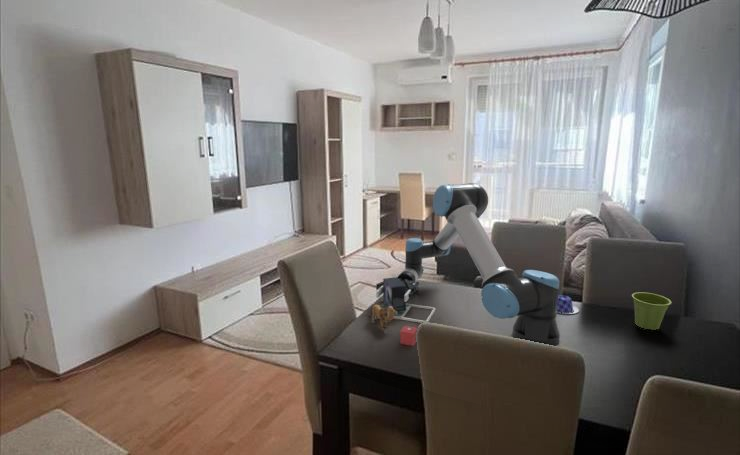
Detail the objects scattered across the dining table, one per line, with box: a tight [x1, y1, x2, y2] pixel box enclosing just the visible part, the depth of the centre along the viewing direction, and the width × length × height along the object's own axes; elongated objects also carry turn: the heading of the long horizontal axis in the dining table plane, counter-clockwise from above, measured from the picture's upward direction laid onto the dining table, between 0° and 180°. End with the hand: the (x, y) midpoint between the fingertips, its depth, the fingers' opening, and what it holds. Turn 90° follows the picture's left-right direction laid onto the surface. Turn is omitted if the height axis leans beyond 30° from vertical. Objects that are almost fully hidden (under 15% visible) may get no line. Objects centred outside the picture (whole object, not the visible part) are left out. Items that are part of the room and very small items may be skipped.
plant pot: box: [631, 291, 672, 330], centre depth 148 cm, size 12×12×11 cm
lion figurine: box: [368, 304, 397, 331], centre depth 150 cm, size 15×5×9 cm, turn 37°
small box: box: [382, 276, 407, 311], centre depth 162 cm, size 11×6×10 cm, turn 17°
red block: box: [400, 325, 418, 347], centre depth 138 cm, size 4×4×5 cm
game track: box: [380, 302, 436, 324], centre depth 162 cm, size 21×14×1 cm
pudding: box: [556, 294, 580, 315], centre depth 165 cm, size 12×12×5 cm
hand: (391, 296), depth 158 cm, fingers closed on small box, 11 cm apart
